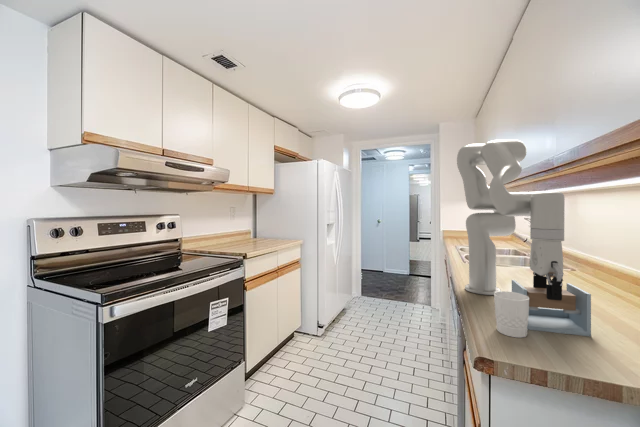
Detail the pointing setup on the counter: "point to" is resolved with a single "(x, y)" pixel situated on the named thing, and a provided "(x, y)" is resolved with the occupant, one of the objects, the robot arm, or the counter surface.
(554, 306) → the brown box
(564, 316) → the shelf unit
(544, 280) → the robot arm
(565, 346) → the counter surface
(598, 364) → the counter surface
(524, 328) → the white cup
